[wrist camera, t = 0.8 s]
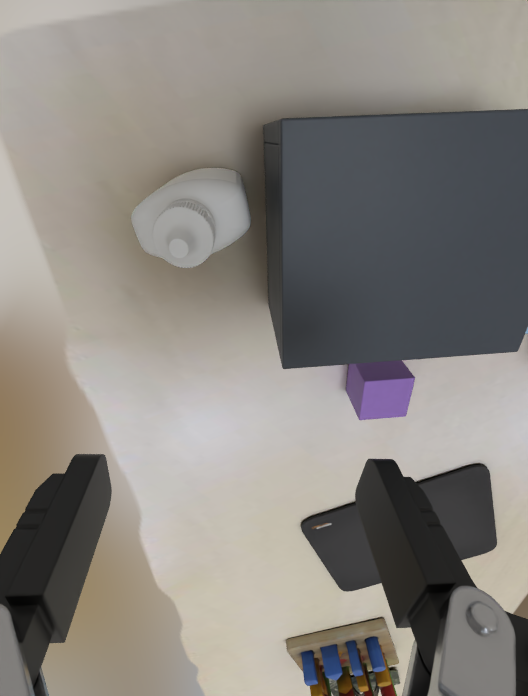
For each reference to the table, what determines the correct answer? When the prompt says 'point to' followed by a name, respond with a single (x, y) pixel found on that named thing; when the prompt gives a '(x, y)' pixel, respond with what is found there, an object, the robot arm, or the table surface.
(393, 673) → the eiffel tower figurine
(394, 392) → the purple cube
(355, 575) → the mouse pad
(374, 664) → the peg board
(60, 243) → the table surface
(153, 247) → the eye dropper bottle
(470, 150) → the dark grey box
